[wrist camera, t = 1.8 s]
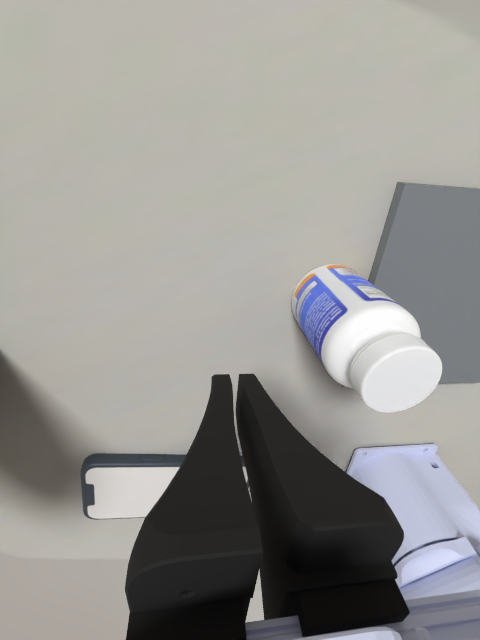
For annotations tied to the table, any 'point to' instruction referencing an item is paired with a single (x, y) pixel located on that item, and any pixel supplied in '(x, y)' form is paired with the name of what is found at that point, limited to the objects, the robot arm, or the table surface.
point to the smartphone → (127, 483)
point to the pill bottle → (365, 339)
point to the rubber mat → (436, 270)
